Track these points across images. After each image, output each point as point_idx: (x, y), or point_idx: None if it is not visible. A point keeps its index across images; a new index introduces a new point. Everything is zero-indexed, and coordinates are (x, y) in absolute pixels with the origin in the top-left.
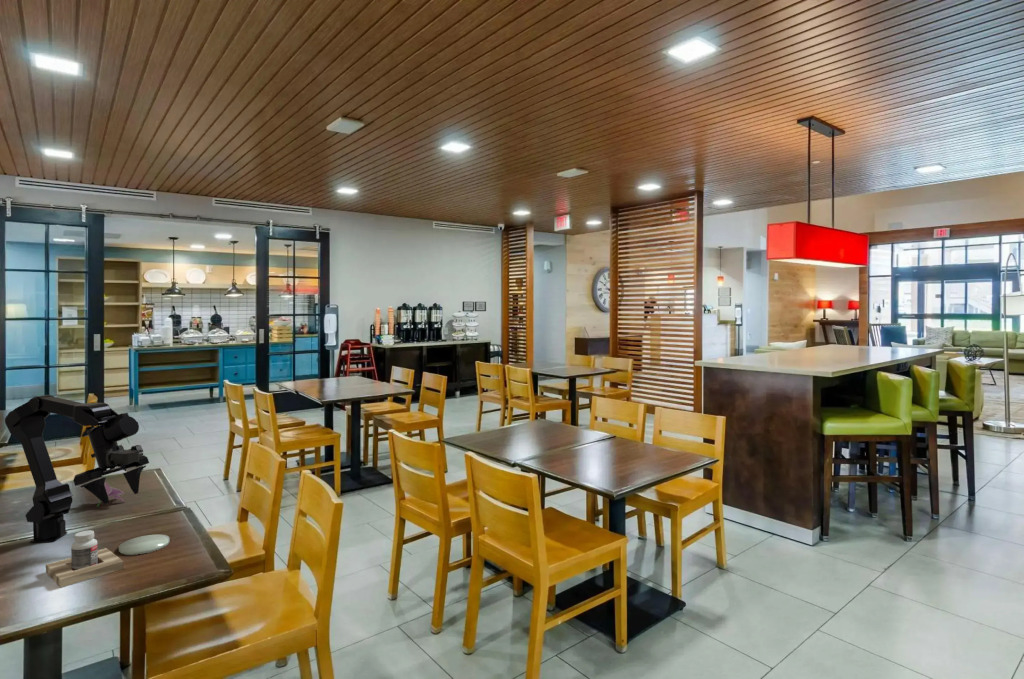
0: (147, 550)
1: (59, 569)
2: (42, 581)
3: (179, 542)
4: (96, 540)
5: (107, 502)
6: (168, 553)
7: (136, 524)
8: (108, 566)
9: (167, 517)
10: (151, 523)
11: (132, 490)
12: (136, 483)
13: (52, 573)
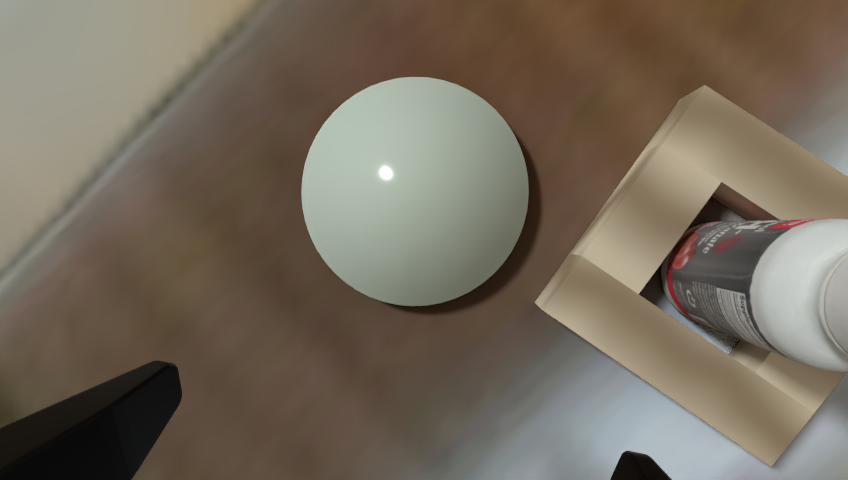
0: (495, 112)
1: None
2: None
3: (353, 49)
4: (804, 240)
5: (656, 463)
6: (488, 7)
7: None
8: (761, 123)
9: (49, 347)
10: None
11: (139, 462)
12: (6, 465)
13: None
